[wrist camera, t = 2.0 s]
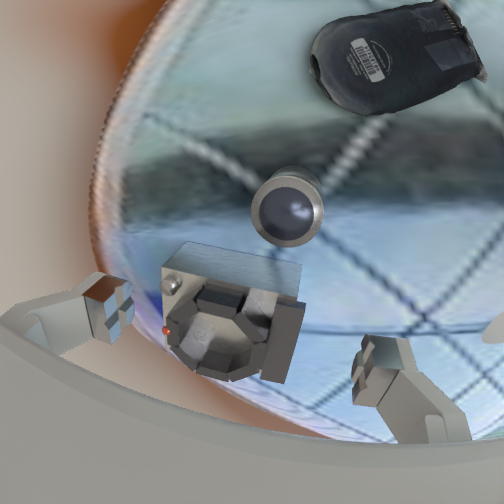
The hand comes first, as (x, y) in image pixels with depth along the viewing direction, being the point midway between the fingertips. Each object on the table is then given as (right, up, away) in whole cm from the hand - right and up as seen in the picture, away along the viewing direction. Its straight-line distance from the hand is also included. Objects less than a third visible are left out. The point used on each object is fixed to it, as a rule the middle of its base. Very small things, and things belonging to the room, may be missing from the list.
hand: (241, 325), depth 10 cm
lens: (+4, +8, +17) cm, 19 cm away
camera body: (-1, -2, +23) cm, 23 cm away
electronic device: (+13, +19, +11) cm, 26 cm away
